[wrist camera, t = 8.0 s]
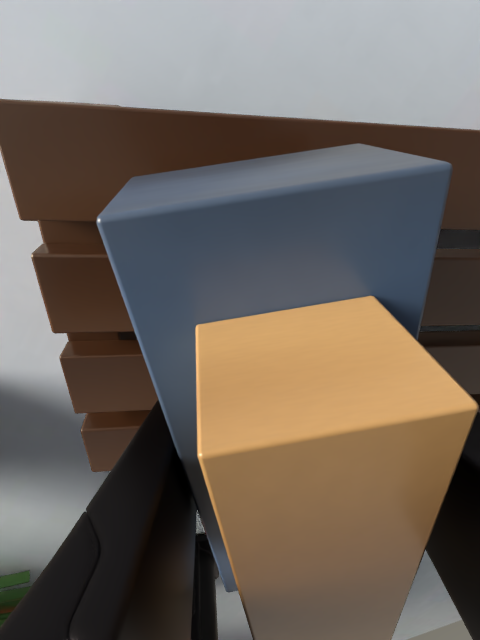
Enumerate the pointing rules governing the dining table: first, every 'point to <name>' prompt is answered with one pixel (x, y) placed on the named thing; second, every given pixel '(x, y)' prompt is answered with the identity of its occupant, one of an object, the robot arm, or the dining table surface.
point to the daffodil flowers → (12, 593)
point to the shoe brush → (299, 372)
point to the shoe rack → (177, 154)
